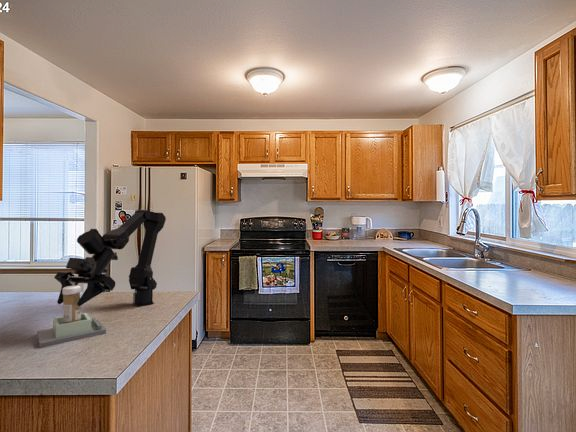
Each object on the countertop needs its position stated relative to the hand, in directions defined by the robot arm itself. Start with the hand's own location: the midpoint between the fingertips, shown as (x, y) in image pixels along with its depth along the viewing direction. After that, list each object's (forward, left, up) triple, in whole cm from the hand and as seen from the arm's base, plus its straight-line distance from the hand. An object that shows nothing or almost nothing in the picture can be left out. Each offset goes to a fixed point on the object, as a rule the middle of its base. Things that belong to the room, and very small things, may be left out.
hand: (68, 304), depth 92 cm
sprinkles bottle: (-1, -1, -8) cm, 9 cm away
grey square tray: (-1, -1, -10) cm, 10 cm away
